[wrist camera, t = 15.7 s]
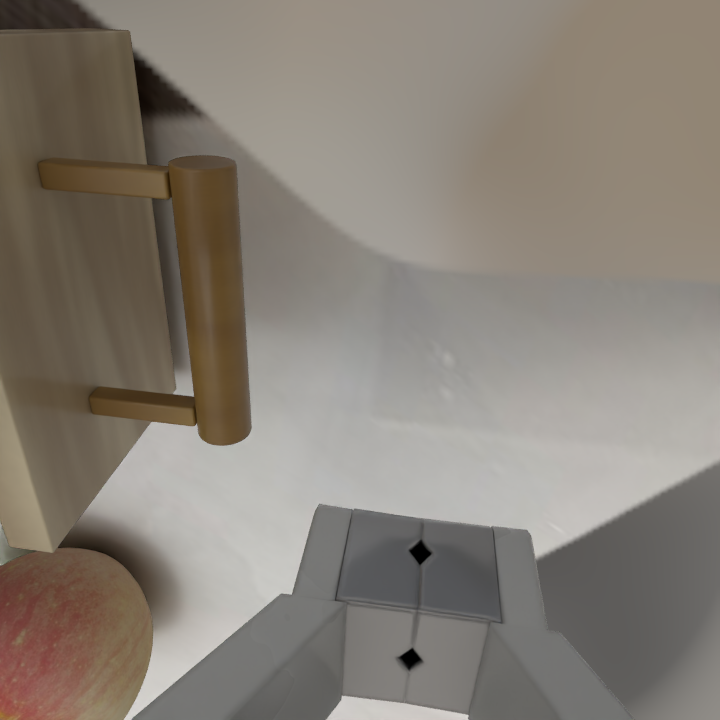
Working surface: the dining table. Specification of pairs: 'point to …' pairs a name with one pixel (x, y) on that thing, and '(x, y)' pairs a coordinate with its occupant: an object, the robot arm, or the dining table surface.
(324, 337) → the dining table surface
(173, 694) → the robot arm
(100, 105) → the drawer
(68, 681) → the apple
